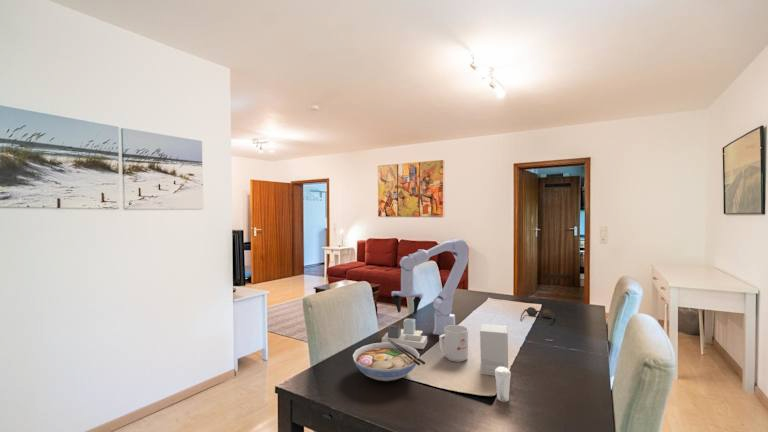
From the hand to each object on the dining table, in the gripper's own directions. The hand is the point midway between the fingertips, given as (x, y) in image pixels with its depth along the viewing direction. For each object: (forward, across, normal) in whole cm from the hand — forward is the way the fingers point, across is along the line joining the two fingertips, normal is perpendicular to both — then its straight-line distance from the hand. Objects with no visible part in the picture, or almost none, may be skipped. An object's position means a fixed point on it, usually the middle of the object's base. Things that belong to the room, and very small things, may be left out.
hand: (407, 312), depth 157 cm
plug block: (+10, +1, +1) cm, 10 cm away
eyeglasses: (+10, +56, +44) cm, 72 cm away
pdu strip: (+10, +2, -10) cm, 14 cm away
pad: (+10, +1, +1) cm, 10 cm away
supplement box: (+10, +39, -24) cm, 47 cm away
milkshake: (+10, +42, -43) cm, 61 cm away
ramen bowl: (+10, +5, -41) cm, 43 cm away
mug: (+10, +24, -19) cm, 32 cm away
